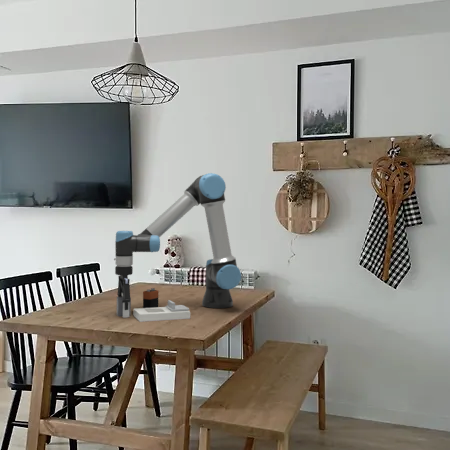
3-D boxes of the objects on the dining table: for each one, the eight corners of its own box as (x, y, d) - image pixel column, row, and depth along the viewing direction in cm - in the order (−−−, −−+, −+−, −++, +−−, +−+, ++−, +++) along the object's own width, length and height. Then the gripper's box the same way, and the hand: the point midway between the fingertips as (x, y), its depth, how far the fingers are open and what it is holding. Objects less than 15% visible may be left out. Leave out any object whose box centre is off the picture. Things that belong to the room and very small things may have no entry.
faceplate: (181, 312, 237) (181, 306, 237) (190, 318, 224) (190, 311, 223) (133, 315, 229) (133, 308, 229) (139, 321, 216) (139, 314, 216)
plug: (128, 313, 232) (129, 291, 232) (130, 315, 228) (130, 293, 228) (116, 314, 230) (116, 292, 230) (118, 316, 226) (118, 293, 226)
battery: (158, 309, 244) (158, 288, 243) (150, 311, 238) (150, 290, 237) (151, 308, 246) (151, 287, 246) (142, 310, 240) (142, 289, 240)
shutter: (182, 306, 235) (183, 299, 235) (189, 310, 225) (189, 302, 225) (165, 307, 232) (165, 299, 232) (171, 311, 223) (171, 303, 222)
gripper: (111, 263, 239) (110, 310, 239) (119, 268, 216) (119, 320, 217) (127, 262, 241) (127, 309, 242) (137, 268, 219) (137, 319, 219)
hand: (123, 314), depth 229 cm, fingers open, 11 cm apart
